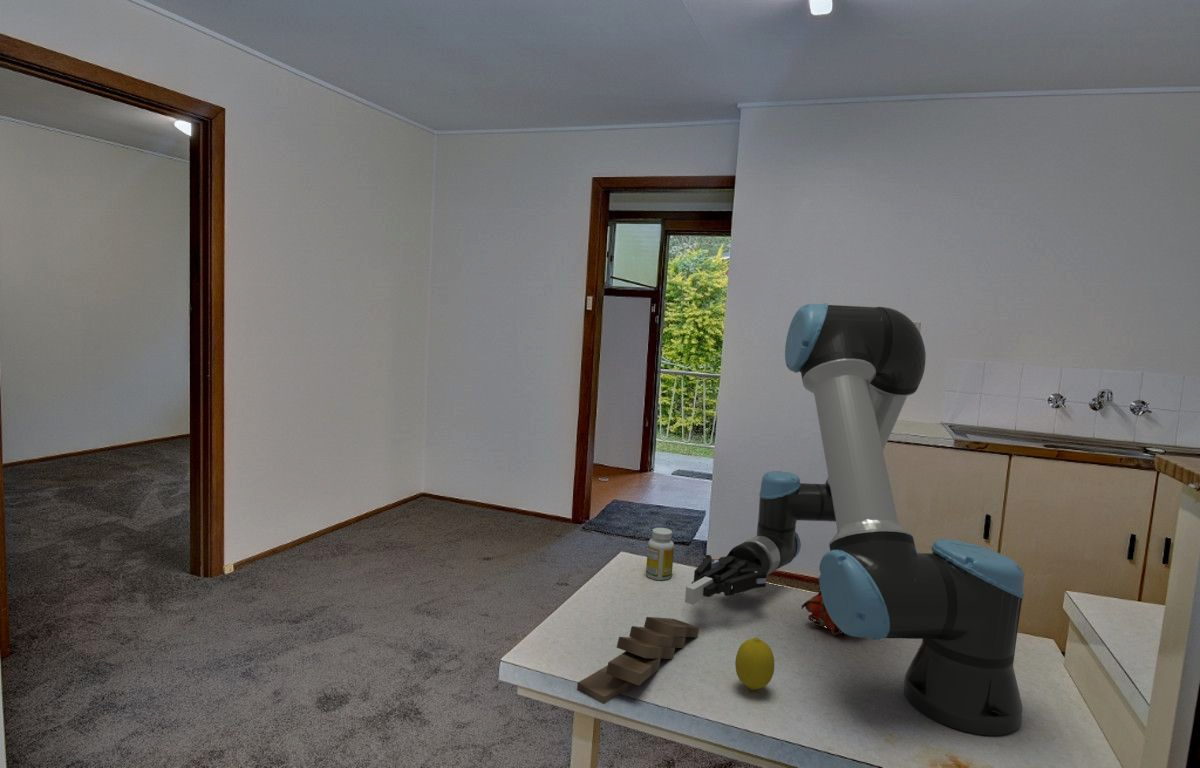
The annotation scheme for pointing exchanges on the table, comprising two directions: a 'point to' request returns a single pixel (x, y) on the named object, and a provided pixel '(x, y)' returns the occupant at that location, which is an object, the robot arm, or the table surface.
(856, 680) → the table surface
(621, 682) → the domino
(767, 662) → the lemon
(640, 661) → the domino
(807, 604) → the dragon fruit
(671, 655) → the domino
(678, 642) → the domino
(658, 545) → the supplement bottle
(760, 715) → the table surface
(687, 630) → the domino
